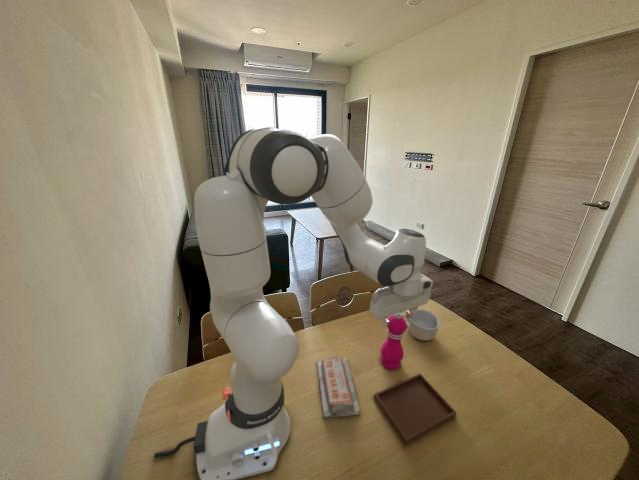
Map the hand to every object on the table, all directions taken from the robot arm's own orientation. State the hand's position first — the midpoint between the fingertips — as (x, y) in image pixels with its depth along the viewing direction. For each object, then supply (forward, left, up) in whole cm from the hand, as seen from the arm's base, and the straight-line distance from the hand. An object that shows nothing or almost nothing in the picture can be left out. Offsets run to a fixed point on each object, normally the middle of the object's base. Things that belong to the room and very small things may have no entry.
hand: (397, 320), depth 78 cm
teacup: (+18, +7, -18) cm, 26 cm away
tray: (-4, -15, -17) cm, 23 cm away
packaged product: (-21, -1, -18) cm, 27 cm away
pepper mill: (0, 0, -18) cm, 18 cm away
